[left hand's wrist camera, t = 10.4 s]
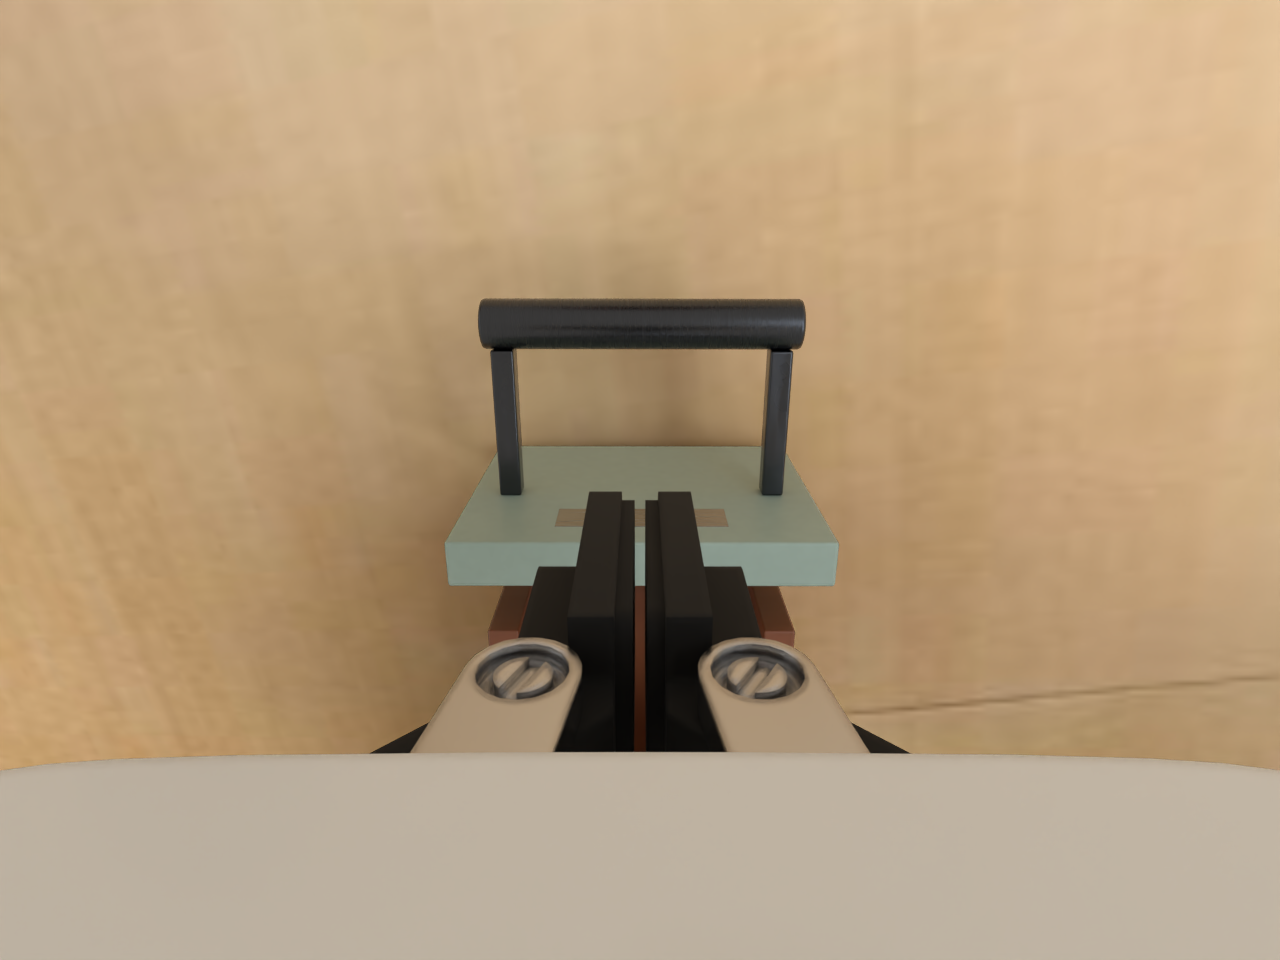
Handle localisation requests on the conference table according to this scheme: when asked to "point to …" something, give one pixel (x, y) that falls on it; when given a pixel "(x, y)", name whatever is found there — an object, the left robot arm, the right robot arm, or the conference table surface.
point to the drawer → (642, 465)
